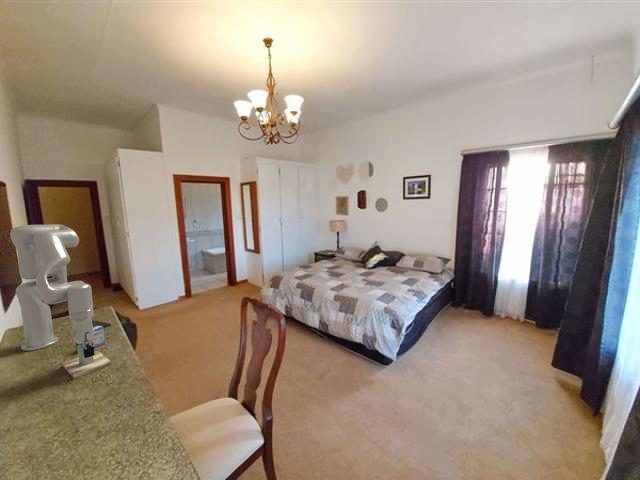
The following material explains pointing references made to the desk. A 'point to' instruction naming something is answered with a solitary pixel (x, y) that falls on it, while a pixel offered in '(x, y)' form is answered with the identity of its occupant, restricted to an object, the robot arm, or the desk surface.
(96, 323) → the smart home device
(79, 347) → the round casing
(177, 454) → the desk surface
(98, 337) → the medicine box
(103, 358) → the birch board
